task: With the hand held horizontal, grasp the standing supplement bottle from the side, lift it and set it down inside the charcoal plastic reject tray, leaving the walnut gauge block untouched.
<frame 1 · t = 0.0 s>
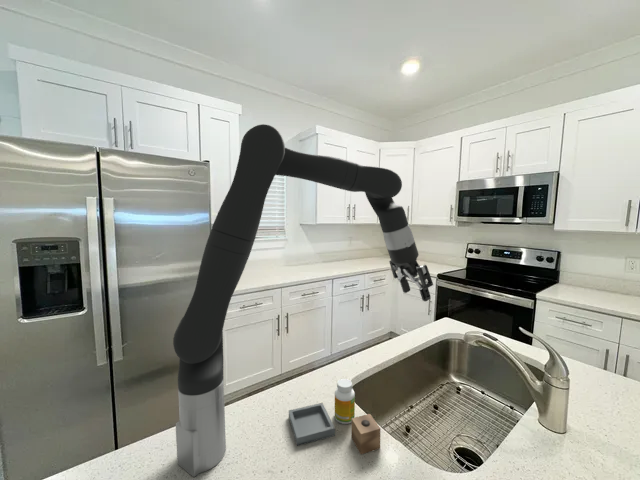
hand: (416, 295, 76), 31 cm above the counter, tool tilted 20°, fingers open, 8 cm apart
supplement bottle: (344, 417, 73), on the counter
gauge block: (365, 443, 64), on the counter
reject tray: (310, 426, 69), on the counter
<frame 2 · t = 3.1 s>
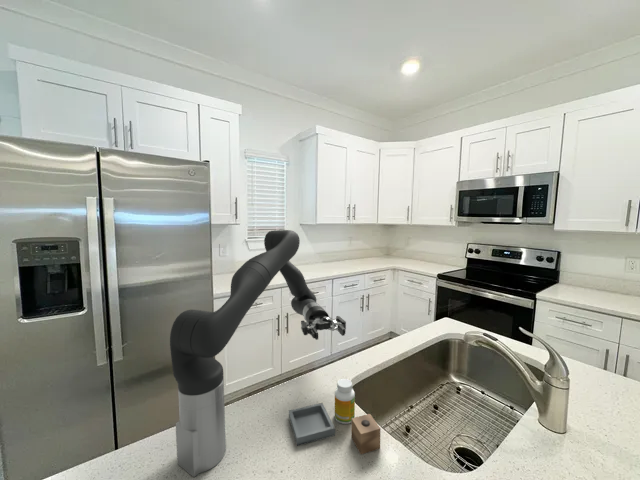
hand: (330, 334, 81), 18 cm above the counter, tool horizontal, fingers open, 8 cm apart
nothing on the counter moved.
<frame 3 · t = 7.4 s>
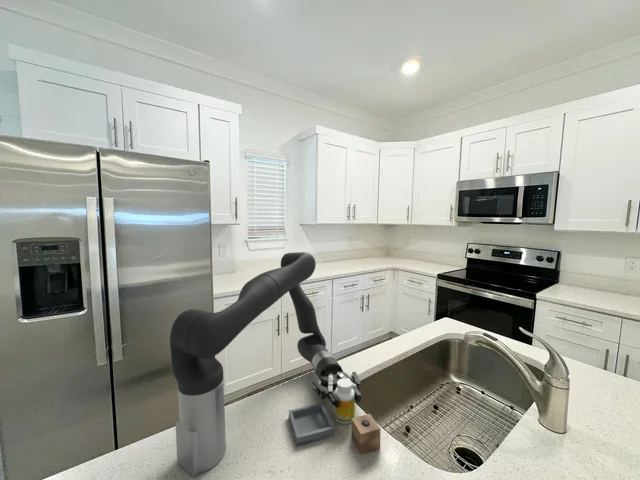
hand: (348, 401, 70), 6 cm above the counter, tool horizontal, fingers closed on supplement bottle, 5 cm apart
supplement bottle: (344, 417, 73), on the counter, touching gripper
when the fingers open (7 cm above the counter, at t = 12.2 s): supplement bottle stays where it is, resting on reject tray.
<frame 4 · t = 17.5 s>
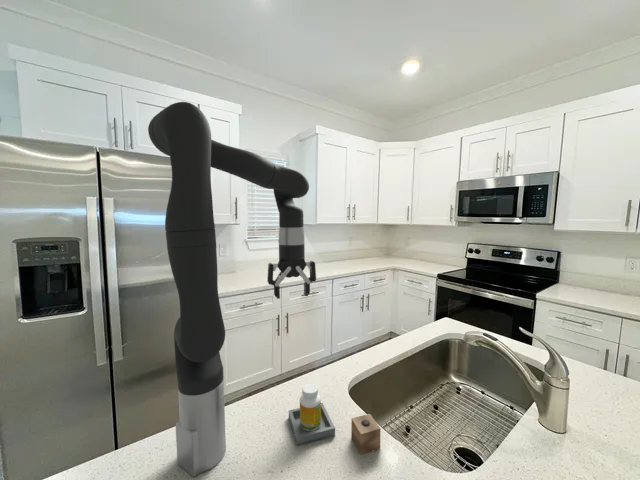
hand: (292, 296, 80), 30 cm above the counter, tool pointing down, fingers open, 8 cm apart
supplement bottle: (310, 424, 69), resting on reject tray
at the end: supplement bottle 0.2 cm from the reject tray (horizontally); supplement bottle tilted 0°; the gripper is holding nothing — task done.
